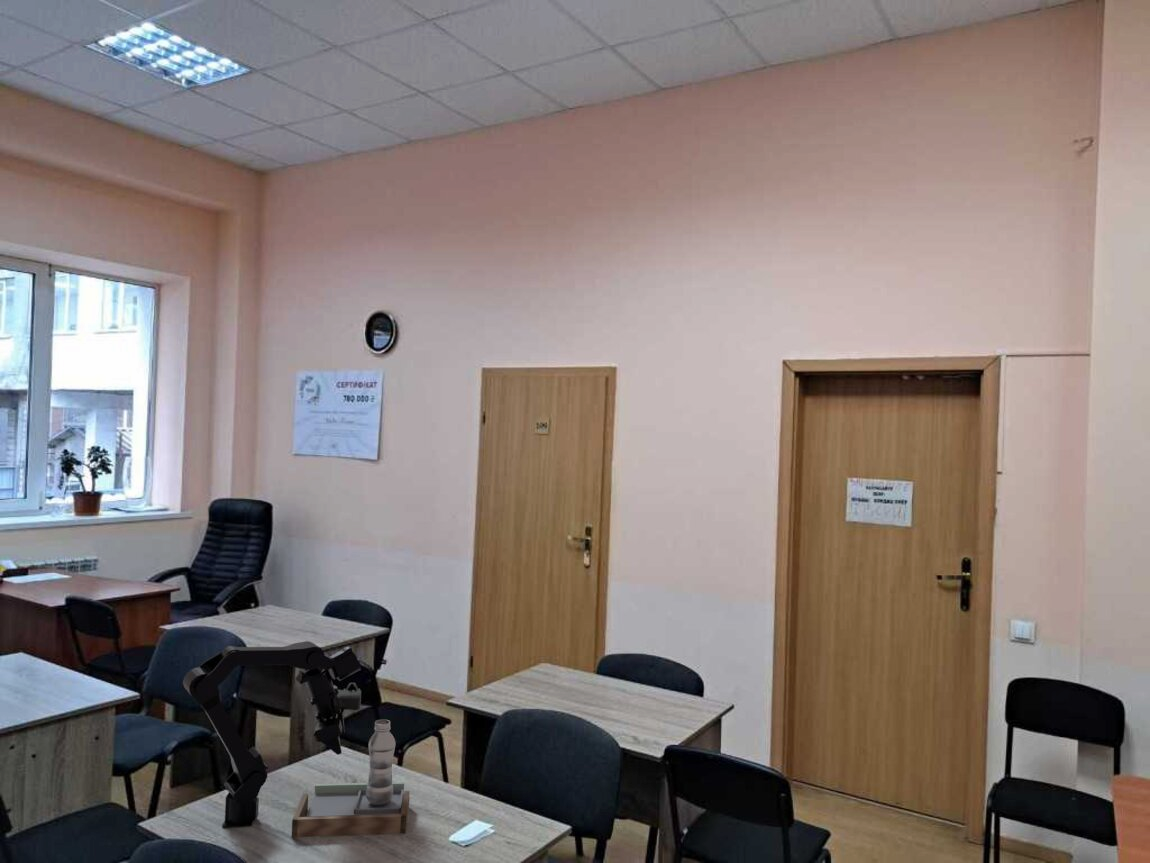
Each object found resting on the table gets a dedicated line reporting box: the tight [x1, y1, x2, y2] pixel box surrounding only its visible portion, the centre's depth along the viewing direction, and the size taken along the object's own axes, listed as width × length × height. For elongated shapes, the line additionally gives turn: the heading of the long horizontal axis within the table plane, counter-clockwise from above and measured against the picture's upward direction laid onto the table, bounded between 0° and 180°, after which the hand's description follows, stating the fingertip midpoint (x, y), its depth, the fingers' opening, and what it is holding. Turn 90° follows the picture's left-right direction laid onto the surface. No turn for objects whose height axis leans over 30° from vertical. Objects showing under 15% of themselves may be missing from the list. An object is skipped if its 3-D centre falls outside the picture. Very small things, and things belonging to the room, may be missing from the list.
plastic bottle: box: [366, 719, 396, 805], centre depth 198 cm, size 6×7×20 cm
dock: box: [291, 790, 410, 838], centre depth 190 cm, size 25×13×4 cm, turn 98°
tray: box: [305, 781, 405, 817], centre depth 197 cm, size 22×13×3 cm, turn 98°
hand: (341, 743), depth 203 cm, fingers open, 9 cm apart
